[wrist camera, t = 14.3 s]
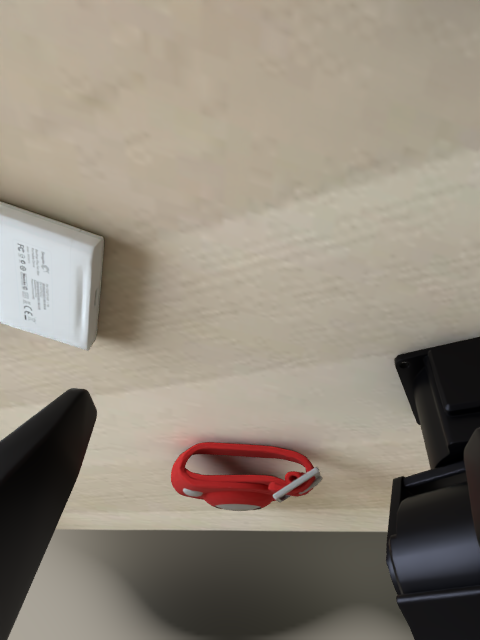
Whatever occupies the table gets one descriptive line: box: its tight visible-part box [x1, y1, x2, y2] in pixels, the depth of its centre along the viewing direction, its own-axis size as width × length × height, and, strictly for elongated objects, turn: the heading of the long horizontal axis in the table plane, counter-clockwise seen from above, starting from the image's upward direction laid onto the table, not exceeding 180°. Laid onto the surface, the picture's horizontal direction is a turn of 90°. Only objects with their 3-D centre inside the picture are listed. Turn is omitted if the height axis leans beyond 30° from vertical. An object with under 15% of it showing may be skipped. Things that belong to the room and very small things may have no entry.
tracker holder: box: [171, 442, 322, 511], centre depth 32 cm, size 12×4×10 cm
